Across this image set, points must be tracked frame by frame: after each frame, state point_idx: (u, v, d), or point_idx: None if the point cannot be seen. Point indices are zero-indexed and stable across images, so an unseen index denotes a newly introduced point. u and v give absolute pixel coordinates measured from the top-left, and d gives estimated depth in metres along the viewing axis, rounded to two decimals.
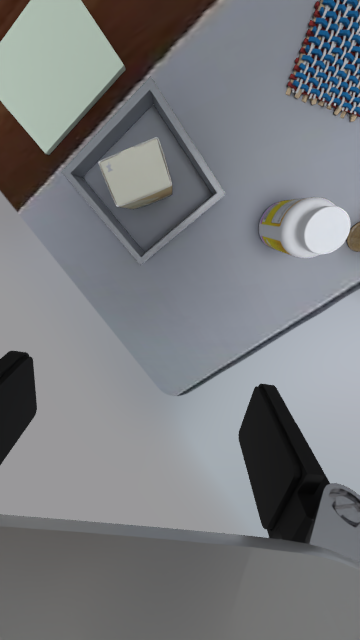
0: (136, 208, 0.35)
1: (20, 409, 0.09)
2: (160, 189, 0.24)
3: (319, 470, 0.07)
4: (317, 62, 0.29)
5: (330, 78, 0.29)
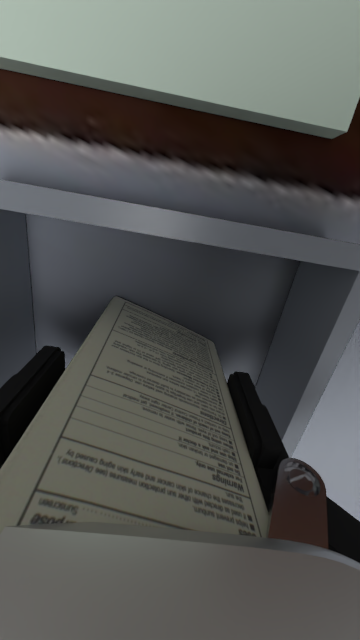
0: None
1: None
2: None
3: (276, 445, 0.07)
4: None
5: None
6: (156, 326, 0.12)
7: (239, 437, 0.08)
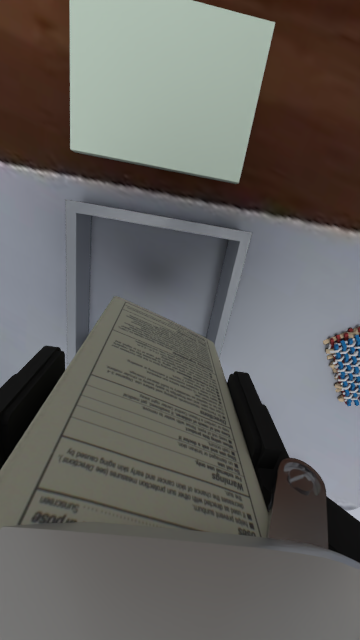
0: None
1: None
2: None
3: (277, 445, 0.07)
4: None
5: (356, 367, 0.29)
6: (156, 326, 0.12)
7: (239, 436, 0.08)
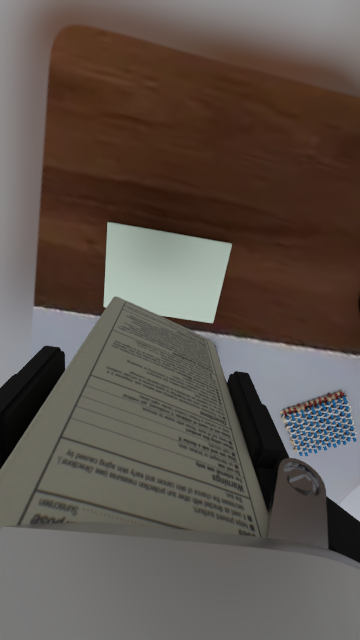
0: None
1: None
2: None
3: (277, 445, 0.07)
4: (305, 419, 0.39)
5: (303, 431, 0.39)
6: (156, 326, 0.12)
7: (239, 437, 0.08)
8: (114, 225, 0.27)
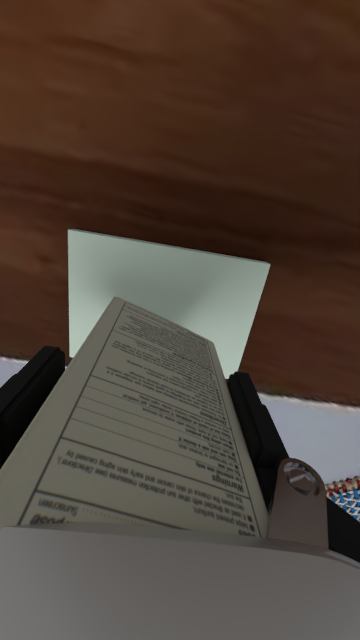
0: None
1: None
2: None
3: (277, 445, 0.07)
4: (358, 501, 0.28)
5: (354, 514, 0.29)
6: (156, 326, 0.12)
7: (239, 437, 0.08)
8: (79, 234, 0.17)
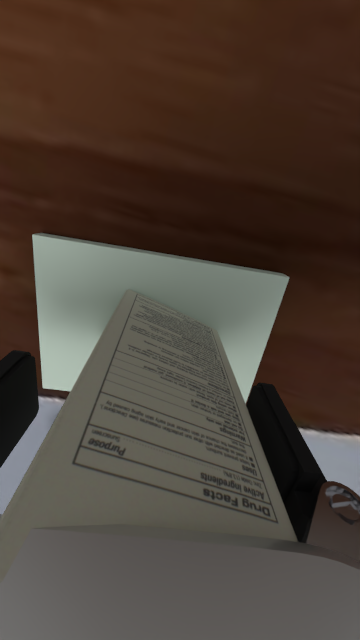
0: None
1: (22, 408, 0.09)
2: None
3: (316, 468, 0.07)
4: None
5: None
6: (165, 315, 0.13)
7: (241, 404, 0.09)
8: (47, 241, 0.13)
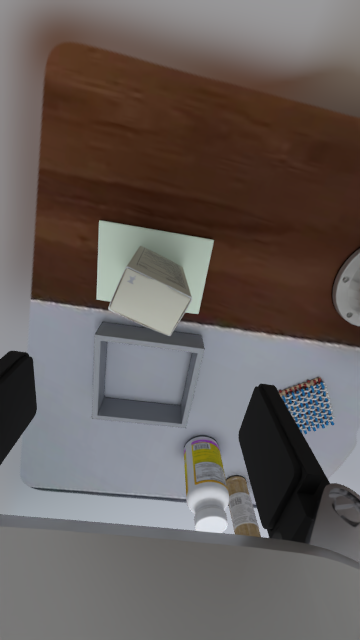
0: None
1: (20, 409, 0.09)
2: (158, 330, 0.22)
3: (318, 469, 0.07)
4: (286, 404, 0.41)
5: None
6: (157, 256, 0.30)
7: (184, 278, 0.26)
8: (105, 223, 0.30)
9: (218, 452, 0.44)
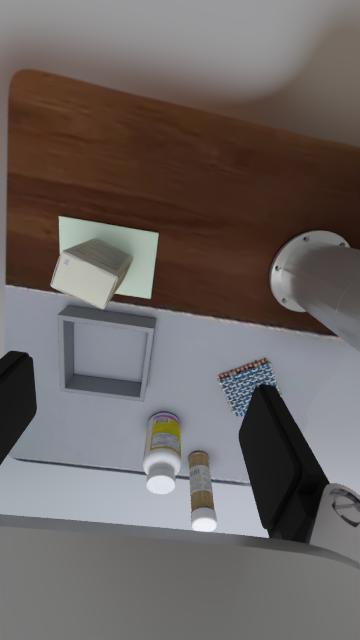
0: None
1: (20, 409, 0.09)
2: (93, 304, 0.27)
3: (318, 469, 0.07)
4: (236, 383, 0.46)
5: (235, 393, 0.47)
6: (108, 246, 0.35)
7: (124, 264, 0.31)
8: (64, 218, 0.35)
9: (177, 426, 0.48)
